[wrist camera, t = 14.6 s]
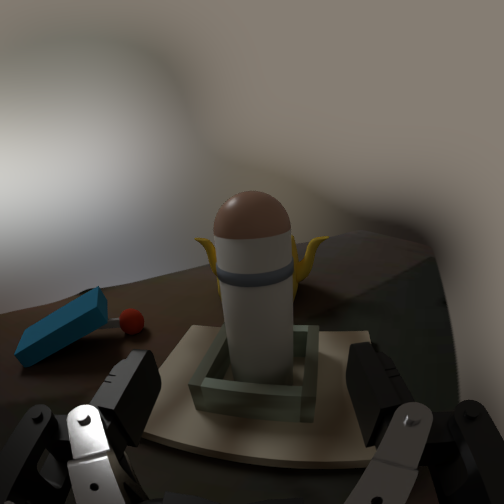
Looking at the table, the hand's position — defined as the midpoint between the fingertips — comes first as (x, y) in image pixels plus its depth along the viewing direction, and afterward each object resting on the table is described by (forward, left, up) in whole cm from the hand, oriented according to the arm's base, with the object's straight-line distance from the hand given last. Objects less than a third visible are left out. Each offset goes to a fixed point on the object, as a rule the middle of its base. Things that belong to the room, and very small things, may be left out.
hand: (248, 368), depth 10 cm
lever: (-26, +11, -11) cm, 30 cm away
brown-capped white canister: (-2, +9, -9) cm, 13 cm away
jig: (-2, +9, -11) cm, 14 cm away
